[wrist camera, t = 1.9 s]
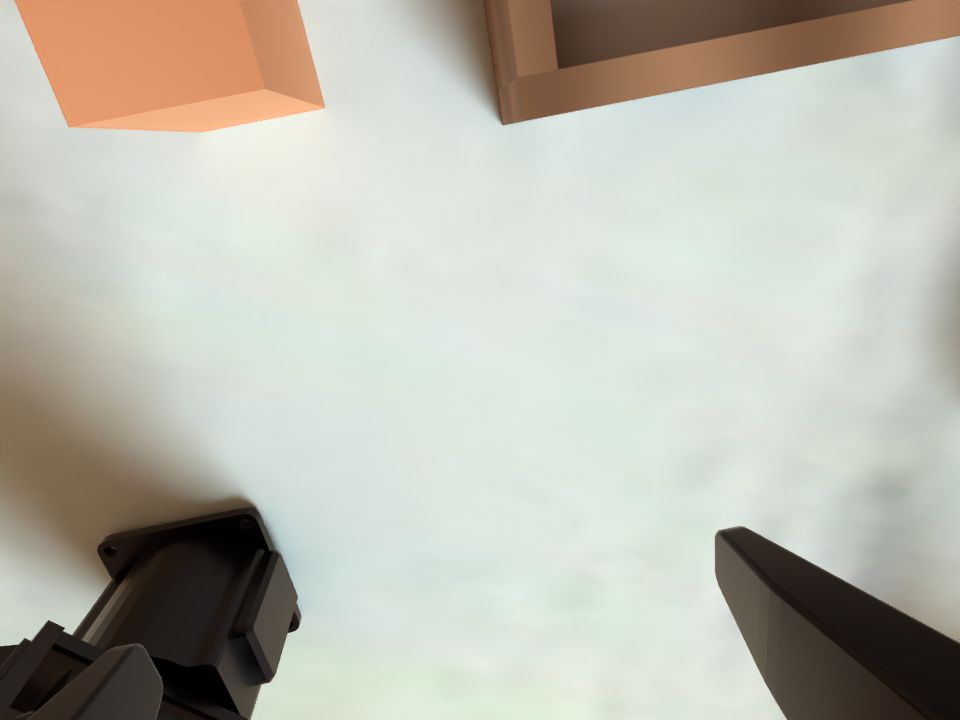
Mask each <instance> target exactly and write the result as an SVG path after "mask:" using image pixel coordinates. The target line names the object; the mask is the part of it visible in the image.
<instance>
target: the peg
mask: <svg viewBox="0 0 960 720" xmlns="http://www.w3.org/2000/svg"><path fill="white" fill-rule="evenodd" d="M14 1H15V3H16V5H17V8H18V10H19V12H20V15H21V17H22V19H23V22H24V24H25V26H26V29H27V31H28V33H29V36H30V38H31V40H32V43H33V45H34V47H35V50H36V52H37V54H38V57H39V59H40V61H41V64H42V66H43V68H44V71H45V73H46V75H47V78H48V80H49V82H50V85H51V87H52V89H53V92H54V94H55V96H56V99H57V101H58V103H59V106H60V108H61V110H62V113H63V115H64V117H65V120H66V122H67V124H68V127H75V128H102V129H128V130H154V131H181V132H206V131H211V130H216V129H221V128H226V127H231V126H236V125H242V124H247V123H252V122H257V121H262V120H267V119H272V118H277V117H283V116H288V115H293V114H298V113H303V112H308V111H313V110H318V109H324V108H325V104H324V101H323V97H322V93H321V89H320V85H319V81H318V78H317V74H316V70H315V66H314V62H313V59H312V55H311V51H310V47H309V43H308V40H307V36H306V32H305V28H304V24H303V20H302V17H301V13H300V9H299V5H298V1H297V0H14Z"/></svg>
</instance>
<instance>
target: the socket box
mask: <svg viewBox="0 0 960 720" xmlns="http://www.w3.org/2000/svg"><path fill="white" fill-rule="evenodd" d="M484 7H485V13H486V20H487V26H488V33H489V39H490V46H491V52H492V59H493V66H494V72H495V79H496V85H497V92H498V98H499V105H500V111H501V118H502V125H507V124H512V123H517V122H522V121H527V120H532V119H537V118H542V117H547V116H552V115H558V114H563V113H568V112H573V111H578V110H583V109H588V108H593V107H598V106H603V105H609V104H614V103H619V102H624V101H629V100H634V99H639V98H644V97H649V96H655V95H660V94H665V93H670V92H675V91H680V90H685V89H690V88H695V87H700V86H706V85H711V84H716V83H721V82H726V81H731V80H736V79H741V78H746V77H751V76H757V75H762V74H767V73H772V72H777V71H782V70H787V69H792V68H797V67H803V66H808V65H813V64H818V63H823V62H828V61H833V60H838V59H843V58H848V57H854V56H859V55H864V54H869V53H874V52H879V51H884V50H889V49H894V48H899V47H905V46H910V45H915V44H920V43H925V42H930V41H935V40H940V39H945V38H950V37H955V36H960V0H484Z"/></svg>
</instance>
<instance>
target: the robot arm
mask: <svg viewBox="0 0 960 720" xmlns="http://www.w3.org/2000/svg"><path fill="white" fill-rule="evenodd" d="M243 519H248V520H250V521H251V522H252V523H247V522H244V520H243ZM111 547H114V548H115V549H116V550H114V549H112V548H111ZM97 551H98V554H99V556H100V558H101V560H102V561H103V563H104V565H105V567H106V569H107V570H108V572H109V574H110V576H111V578H112V581H111V582H110V584H109V585H108V586H107V588H106V589H105V590H104V592H103V593H102V595H101V596H100V597H99V599H98V600H97V602H96V603H95V604H94V606H93V607H92V608H91V610H90V611H89V613H88V614H87V615H86V617H85V618H84V620H83V621H82V622H81V624H80V625H79V626H78V628H77V629H76V631H75V632H74V633H73V635H70V634H68V633H66V632H64V631H63V630H64V629H65V628H64V627H62V626H60V625H58V624H56V623H53V622H51V621H49V620H48V621H47V622H46V624H45V625H44V626H43V627H42V628H41V630H40V631H39V632H38V633H37V634H36V636H35V637H34V638H33V639H32V640H31V641H30V640H27V639H25V638H24V639H23V641H22V642H21V643H20V644H19V645H10V646H0V720H251V716H252V713H253V710H254V707H255V704H256V700H257V697H258V694H259V691H260V687H261V684H265V683H269V682H271V681H272V679H273V678H274V676H275V674H276V671H277V668H278V664H279V661H280V657H281V654H282V650H283V647H284V643H285V640H286V636H287V633H290V632H293V631H295V630H297V629H298V627H299V625H300V621H301V613H300V611H299V608H298V606H297V603H296V602H297V598H298V596H297V593H296V590H295V588H294V585H293V583H292V580H291V578H290V576H289V573H288V571H287V568H286V566H285V563H284V561H283V558H282V556H281V554H280V553H279V552H278V551H277V550H275V549H274V547H273V544H272V542H271V539H270V537H269V535H268V532H267V530H266V527H265V525H264V522H263V520H262V517H261V515H260V514H259V512H258V511H256V510H255V509H252V508H242V509H237V510H232V511H227V512H222V513H217V514H212V515H207V516H203V517H198V518H193V519H188V520H183V521H178V522H173V523H168V524H163V525H158V526H153V527H148V528H144V529H139V530H134V531H129V532H124V533H119V534H114V535H110V536H107V537H106V538H105V539H104V540H103V541H102V542H101V544H100V545H99V546H98V549H97ZM715 574H716V578H717V582H718V585H719V587H720V589H721V592H722V594H723V596H724V598H725V600H726V602H727V604H728V606H729V608H730V610H731V613H732V615H733V617H734V619H735V621H736V623H737V625H738V627H739V629H740V631H741V634H742V636H743V638H744V640H745V642H746V644H747V646H748V648H749V650H750V653H751V655H752V657H753V659H754V661H755V663H756V665H757V667H758V669H759V671H760V673H761V675H762V677H763V679H764V681H765V683H766V685H767V687H768V688H769V690H770V692H771V694H772V695H773V697H774V699H775V701H776V702H777V704H778V706H779V707H780V709H781V711H782V712H783V714H784V716H785V717H786V719H787V720H960V643H959V642H957V641H955V640H953V639H951V638H950V637H948V636H946V635H944V634H942V633H940V632H938V631H937V630H935V629H933V628H931V627H929V626H927V625H926V624H924V623H922V622H920V621H918V620H916V619H914V618H913V617H911V616H909V615H907V614H905V613H903V612H901V611H900V610H898V609H896V608H894V607H892V606H890V605H889V604H887V603H885V602H883V601H881V600H879V599H877V598H876V597H874V596H872V595H870V594H868V593H866V592H864V591H863V590H861V589H859V588H857V587H855V586H853V585H851V584H850V583H848V582H846V581H844V580H842V579H840V578H839V577H837V576H835V575H833V574H831V573H829V572H827V571H826V570H824V569H822V568H820V567H818V566H816V565H814V564H813V563H811V562H809V561H807V560H805V559H803V558H802V557H800V556H798V555H796V554H794V553H792V552H790V551H789V550H787V549H785V548H783V547H781V546H779V545H777V544H776V543H774V542H772V541H770V540H768V539H766V538H765V537H763V536H761V535H759V534H757V533H755V532H753V531H752V530H750V529H748V528H745V527H742V526H738V527H733V528H728V529H722V530H719V531H718V532H717V533H716V535H715Z"/></svg>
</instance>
